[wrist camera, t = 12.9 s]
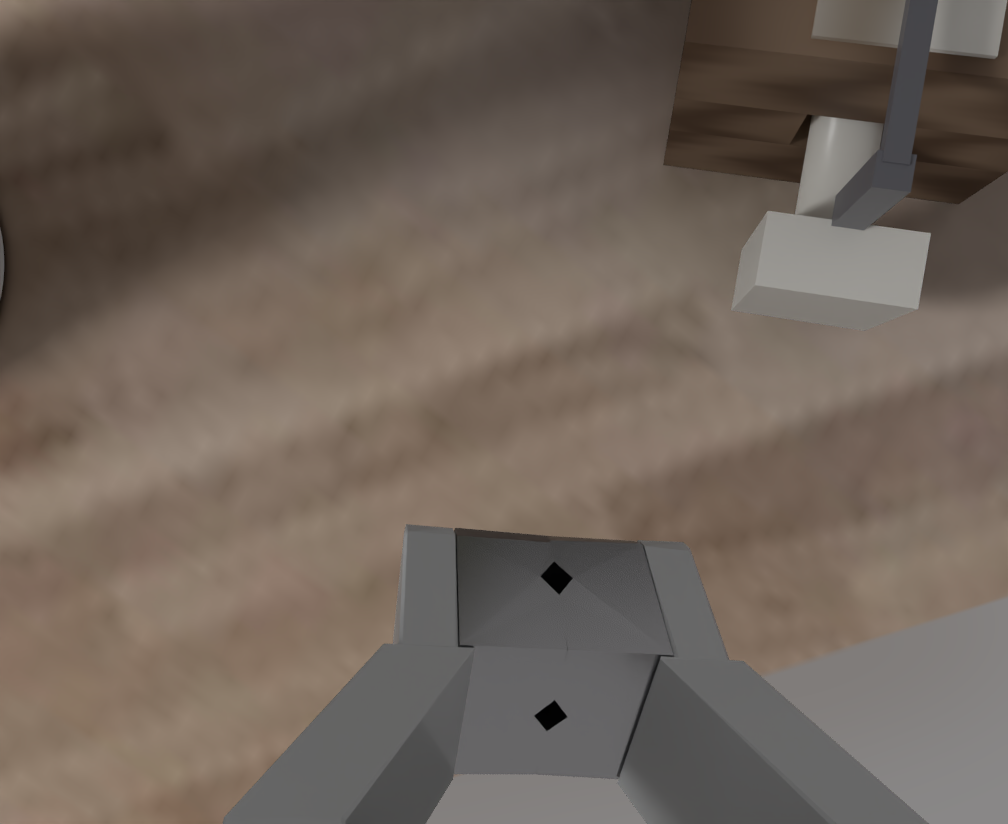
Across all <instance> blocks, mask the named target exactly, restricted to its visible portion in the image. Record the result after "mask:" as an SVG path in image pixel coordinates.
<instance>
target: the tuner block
mask: <svg viewBox="0 0 1008 824" xmlns="http://www.w3.org/2000/svg"><path fill="white" fill-rule="evenodd" d="M905 2H906V0H692V2H691V8H690V13H689V19H688V25H687V31H686V37H685V42H684V48H683V54H682V60H681V66H680V71H679V77H678V83H677V89H676V95H675V100H674V106H673V112H672V118H671V124H670V129H669V135H668V141H667V147H666V153H665V158H664V164H663V165H669V166H676V167H684V168H691V169H699V170H706V171H714V172H721V173H729V174H736V175H744V176H752V177H759V178H767V179H774V180H782V181H789V182H797V183H800V181H801V175H802V170H803V164H804V158H805V152H806V146H807V141H808V135H809V129H810V123H811V117H812V115H817V116H825V117H833V118H841V119H849V120H858V121H866V122H874V123H882V124H884V123H885V118H886V112H887V106H888V100H889V94H890V89H891V83H892V77H893V71H894V65H895V60H896V54H897V48H898V42H899V36H900V31H901V25H902V19H903V13H904V7H905ZM883 129H884V126H883ZM882 135H883V132H882ZM881 141H882V138H881ZM880 147H881V144H880ZM912 154H915V155H917V158H916V164H915V170H914V176H913V181H912V187H911V192H910V193H909V194H908V195H906V196H905V197H909V198H917V199H924V200H932V201H939V202H947V203H954V204H959V203H961V202H962V201H964V200H965V199H967V198H968V197H970V196H971V195H973V194H974V193H976V192H977V191H979V190H980V189H982V188H983V187H985V186H986V185H988V184H989V183H991V182H992V181H994V180H995V179H997V178H998V177H1000V176H1001V175H1003V174H1004V173H1006V172H1007V171H1008V0H938V4H937V10H936V16H935V22H934V28H933V33H932V39H931V45H930V51H929V57H928V62H927V68H926V74H925V80H924V86H923V91H922V97H921V103H920V109H919V115H918V120H917V126H916V132H915V138H914V144H913V150H912Z"/></svg>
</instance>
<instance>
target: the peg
mask: <svg viewBox="0 0 1008 824" xmlns="http://www.w3.org/2000/svg"><path fill="white" fill-rule="evenodd" d="M937 4H938V0H906V2H905V7H904V13H903V19H902V25H901V31H900V36H899V42H898V48H897V54H896V60H895V65H894V71H893V77H892V83H891V89H890V94H889V100H888V106H887V112H886V118H885V123H884V124H882V123H874V122H866V121H858V120H849V119H841V118H833V117H825V116H817V115H812V117H811V123H810V129H809V135H808V141H807V146H806V152H805V158H804V164H803V170H802V175H801V181H800V187H799V193H798V199H797V204H796V210H795V214H788V213H780V212H773V211H767V213H766V214H765V216H764V217H763V219H762V220H761V222H760V223H759V225H758V226H757V228H756V229H755V231H754V232H753V233H752V235H751V236H750V238H749V239H748V241H747V242H746V244H745V245H744V247H743V248H742V251H741V257H740V262H739V268H738V274H737V280H736V286H735V291H734V297H733V303H732V309H731V311H737V312H744V313H750V314H757V315H763V316H770V317H777V318H783V319H790V320H796V321H803V322H809V323H816V324H822V325H829V326H836V327H842V328H849V329H855V330H862V331H866V330H868V329H871V328H873V327H876V326H878V325H881V324H883V323H885V322H888V321H890V320H893V319H895V318H898V317H900V316H903V315H905V314H907V313H910V312H912V311H915V310H917V309H918V306H919V300H920V294H921V289H922V283H923V277H924V271H925V265H926V260H927V254H928V248H929V242H930V236H931V233H926V232H919V231H911V230H904V229H897V228H889V227H882V226H875V225H871V224H872V223H873V222H875V221H876V220H877V219H878V218H880V217H881V216H882V215H883V214H884V213H886V212H887V211H888V210H889V209H891V208H892V207H893V206H894V205H895V204H897V203H898V202H899V201H900V200H902V199H903V198H904V197H905V196H906V195H908V194H909V193H910V192H911V187H912V181H913V176H914V170H915V164H916V158H917V155H915V154H912V150H913V144H914V138H915V132H916V126H917V120H918V115H919V109H920V103H921V97H922V91H923V86H924V80H925V74H926V68H927V62H928V57H929V51H930V45H931V39H932V33H933V28H934V22H935V16H936V10H937ZM883 126H884V129H883ZM882 132H883V135H882ZM881 138H882V141H881ZM880 144H881V147H880Z"/></svg>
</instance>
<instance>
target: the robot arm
mask: <svg viewBox="0 0 1008 824" xmlns="http://www.w3.org/2000/svg"><path fill="white" fill-rule="evenodd" d="M3 279H4V248H3V240H2V234H1V229H0V299H1V294H2V287H3ZM454 774H538V775H556V776H573V777H591V778H607V779H619V780H618V785H619V786H620V788H621V789H622V790H623V792H624V793H625V794H626V796H627V797H628V798H629V800H630V801H631V803H632V804H633V805H634V807H635V808H636V809H637V811H638V812H639V813H640V815H641V816H642V817H643V819H644V820H645V821H646V823H647V824H929V823H927V822H926V821H925V820H924V819H923V818H922V817H921V816H919V815H918V814H917V813H916V812H915V811H914V810H913V809H911V808H910V807H909V806H908V805H907V804H906V803H905V802H903V801H902V800H901V799H900V798H899V797H898V796H896V795H895V794H894V793H893V792H892V791H891V790H890V789H888V787H886V786H885V785H884V784H883V783H882V782H881V781H879V780H878V779H877V778H876V777H875V776H874V775H873V774H872V773H870V772H869V771H868V770H867V769H866V768H865V767H863V766H862V765H861V764H860V763H859V762H858V761H857V760H856V759H854V758H853V757H852V756H851V755H850V754H849V753H848V752H846V751H845V750H844V749H843V748H842V747H841V746H840V745H839V744H837V743H836V742H835V741H834V740H833V739H832V738H831V737H829V736H828V735H827V734H826V733H825V732H824V731H822V730H821V729H820V728H819V727H818V726H817V725H816V724H815V723H813V722H812V721H811V720H810V719H809V718H808V717H806V716H805V715H804V714H803V713H802V712H801V711H800V710H799V709H797V708H796V707H795V706H794V705H793V704H792V703H790V701H788V700H787V699H786V698H785V697H784V696H782V695H781V694H780V693H779V692H778V691H777V690H775V688H774V687H772V686H771V685H770V684H769V683H768V682H767V681H766V680H764V679H763V678H762V677H761V676H760V675H759V674H758V673H756V672H755V671H754V670H753V669H752V668H751V667H750V666H748V665H747V664H746V663H745V662H744V661H735V660H729V658H728V655H727V652H726V649H725V646H724V643H723V641H722V638H721V635H720V632H719V629H718V626H717V624H716V621H715V618H714V615H713V612H712V609H711V607H710V604H709V601H708V598H707V595H706V592H705V590H704V587H703V584H702V581H701V578H700V575H699V573H698V570H697V567H696V564H695V561H694V558H693V556H692V553H691V550H690V548H689V547H688V546H687V545H686V544H685V543H684V542H665V541H643V540H638V541H637V542H635V541H626V540H609V539H592V538H575V537H557V536H543V535H532V534H520V533H509V532H498V531H486V530H475V529H463V528H455V530H454V531H453V529H452V528H443V527H431V526H419V525H408V524H406V527H405V531H404V538H403V548H402V557H401V567H400V577H399V586H398V596H397V605H396V616H395V626H394V637H393V644H383V645H382V646H381V647H380V648H379V649H378V651H377V652H376V653H375V654H374V655H373V656H372V657H371V658H370V659H369V660H368V661H367V662H366V664H365V665H364V666H363V667H362V668H361V669H360V670H359V671H358V672H357V673H356V674H355V676H354V677H353V678H352V679H351V680H350V681H349V682H348V683H347V684H346V685H345V686H344V688H343V689H342V690H341V691H340V692H339V693H338V694H337V695H336V696H335V697H334V698H333V700H332V701H331V702H330V703H329V704H328V705H327V706H326V707H325V708H324V709H323V710H322V711H321V713H320V714H319V715H318V716H317V717H316V718H315V719H314V720H313V721H312V722H311V723H310V725H309V726H308V727H307V728H306V729H305V730H304V731H303V732H302V733H301V734H300V735H299V737H298V738H297V739H296V740H295V741H294V742H293V743H292V744H291V745H290V746H289V747H288V749H287V750H286V751H285V752H284V753H283V754H282V755H281V756H280V757H279V758H278V759H277V761H276V762H275V763H274V764H273V765H272V766H271V767H270V768H269V769H268V770H267V771H266V772H265V774H264V775H263V776H262V777H261V778H260V779H259V780H258V781H257V782H256V783H255V784H254V786H253V787H252V788H251V789H250V790H249V791H248V792H247V793H246V794H245V795H244V796H243V798H242V799H241V800H240V801H239V802H238V803H237V804H236V805H235V806H234V807H233V808H232V810H231V811H230V812H229V813H228V814H227V815H226V816H225V817H224V821H223V824H425V823H426V822H427V820H428V819H429V817H430V816H431V814H432V812H433V811H434V809H435V807H436V806H437V804H438V802H439V801H440V799H441V798H442V796H443V794H444V793H445V791H446V789H447V788H448V786H449V785H450V783H451V781H452V780H453V775H454Z"/></svg>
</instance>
